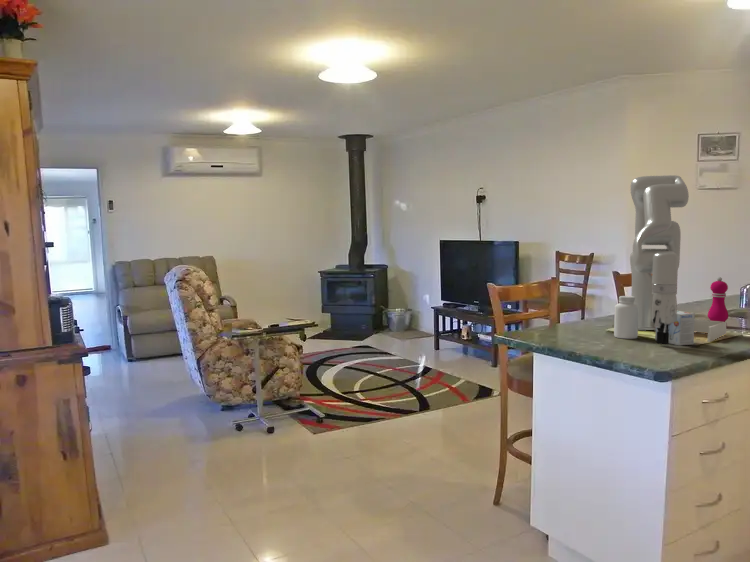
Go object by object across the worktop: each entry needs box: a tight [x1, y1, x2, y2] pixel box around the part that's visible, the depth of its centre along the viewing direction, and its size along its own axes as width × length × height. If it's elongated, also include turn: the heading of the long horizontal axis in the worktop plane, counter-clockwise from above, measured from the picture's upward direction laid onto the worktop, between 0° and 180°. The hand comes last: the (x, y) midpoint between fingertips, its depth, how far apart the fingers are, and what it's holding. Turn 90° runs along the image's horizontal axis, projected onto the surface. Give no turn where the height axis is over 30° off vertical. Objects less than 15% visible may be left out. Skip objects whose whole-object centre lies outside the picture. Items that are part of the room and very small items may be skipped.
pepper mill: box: [707, 276, 729, 328], centre depth 231 cm, size 7×7×20 cm
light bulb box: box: [654, 310, 696, 346], centre depth 200 cm, size 11×7×11 cm, turn 21°
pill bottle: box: [613, 295, 639, 340], centre depth 210 cm, size 8×8×15 cm
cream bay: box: [694, 318, 727, 343], centre depth 213 cm, size 17×17×5 cm
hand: (662, 343), depth 194 cm, fingers closed
